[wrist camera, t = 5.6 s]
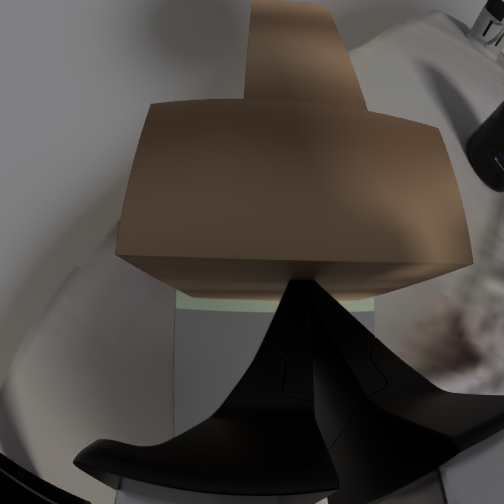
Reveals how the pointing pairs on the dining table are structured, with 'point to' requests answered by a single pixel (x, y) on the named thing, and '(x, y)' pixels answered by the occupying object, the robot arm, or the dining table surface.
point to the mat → (223, 349)
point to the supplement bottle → (489, 150)
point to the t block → (291, 179)
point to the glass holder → (489, 29)
